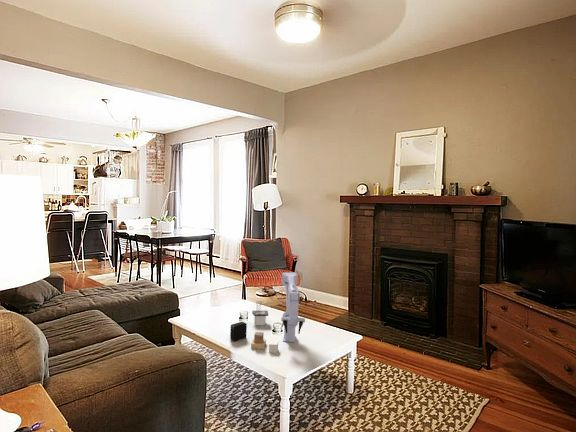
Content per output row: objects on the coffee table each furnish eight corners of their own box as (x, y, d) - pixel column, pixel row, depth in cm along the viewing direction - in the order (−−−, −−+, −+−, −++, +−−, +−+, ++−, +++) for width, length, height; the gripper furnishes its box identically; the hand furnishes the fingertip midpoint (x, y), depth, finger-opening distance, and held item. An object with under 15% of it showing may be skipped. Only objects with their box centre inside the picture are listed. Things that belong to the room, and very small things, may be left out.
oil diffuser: (275, 318, 280) (276, 296, 279) (278, 329, 256) (279, 306, 255) (242, 318, 277) (242, 296, 276) (242, 330, 253) (242, 306, 252)
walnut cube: (255, 339, 229) (255, 331, 228) (263, 340, 228) (263, 332, 228) (254, 342, 224) (254, 334, 223) (262, 343, 223) (262, 335, 223)
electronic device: (246, 337, 239) (246, 323, 238) (234, 341, 232) (234, 326, 231) (242, 336, 242) (242, 321, 241) (230, 339, 235) (230, 324, 234)
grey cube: (269, 348, 223) (270, 340, 223) (278, 349, 223) (278, 341, 222) (268, 352, 218) (269, 344, 218) (277, 352, 218) (277, 344, 217)
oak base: (253, 343, 231) (253, 338, 230) (266, 344, 230) (266, 339, 230) (251, 348, 223) (251, 343, 223) (263, 349, 222) (264, 344, 222)
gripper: (281, 312, 220) (280, 334, 220) (305, 314, 218) (304, 336, 219) (282, 308, 227) (281, 330, 227) (305, 310, 225) (304, 331, 226)
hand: (292, 332), depth 224 cm, fingers open, 7 cm apart
